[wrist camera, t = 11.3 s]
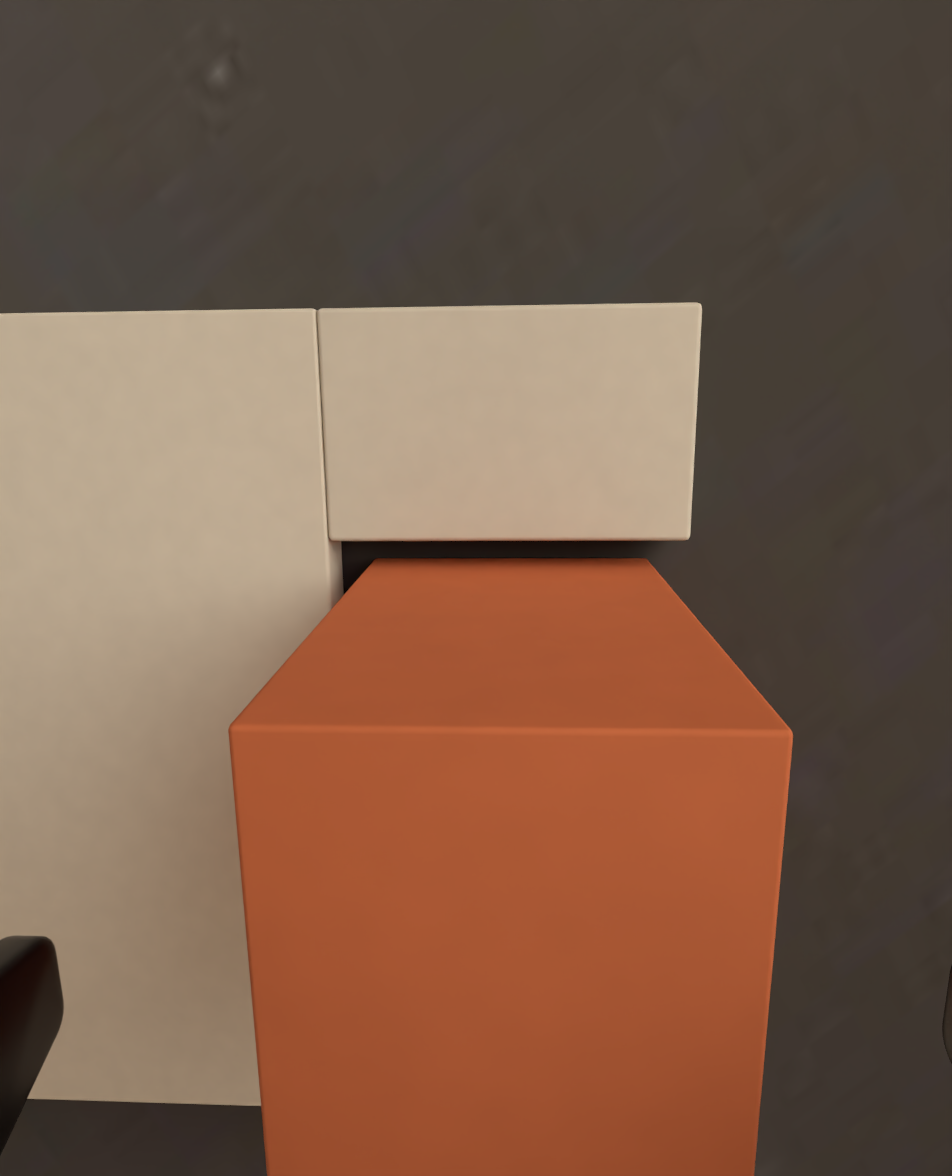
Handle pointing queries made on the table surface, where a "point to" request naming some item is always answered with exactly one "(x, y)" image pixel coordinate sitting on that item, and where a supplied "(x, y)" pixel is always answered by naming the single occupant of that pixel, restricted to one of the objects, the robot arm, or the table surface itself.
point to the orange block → (510, 878)
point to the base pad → (253, 595)
